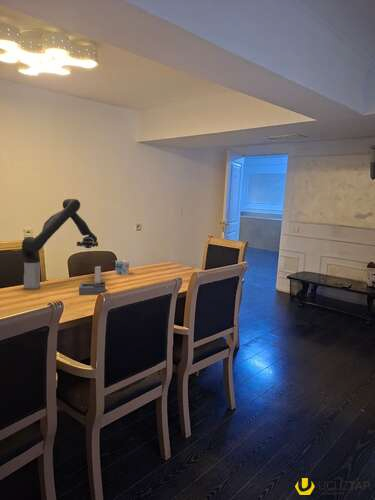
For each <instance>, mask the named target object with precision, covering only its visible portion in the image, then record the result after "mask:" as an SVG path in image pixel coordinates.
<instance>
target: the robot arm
mask: <svg viewBox="0 0 375 500" xmlns="http://www.w3.org/2000/svg"><path fill="white" fill-rule="evenodd" d="M62 208H63V209H62V210H61V211H59V212H56V213H55V214H53V215H51V216H50V217H49V218H48V219H47V220H45V222H44V224H43V225H42V230H41V232H40V233H39V234H38V235H37V236H35V237H32V236H31V237H25V238H24V239H23V240H22V243H21V252H22V259H23V264H24V265H23V267H24V271H23V272H24V273H23V289H26V290H27V289H28V290H36V289H39V288H41V271H40V268H41V267H40V264H41V263H40V261H41V260H40V257H39V256H38V255H37V254H36V253H37V252H39V251H41V249H43V247H44V246H45V244H46V243H47V242H48V241H49V239H51V237H52V236H53V235H54V234H55V233H56V232H57V231H58V230H60V228H61V227H62V226H63V225H64V224H65V223H66V222H67V221H68V220H69V219H71V220H72V221H73V222H74V224H75V225H76V227H77V229H78V231H79V232H80V234H81V235H82V236H85V237H83V238H82V241H76V247H83V248H85V249H90V248H91V249H92V248H94V247H99V242H98V238H97V235H95V234H94V233H93V232H92V231H91V229H90V228H89V226H88V224H87V222H86V221H85V220H84V219H83V218H82V217H81V216H80V215H79V214H78V213H77V212H78V211H80V208H81V202H80V201H79V200H78V199H76V198H67V199H64V200H63V201H62Z"/></svg>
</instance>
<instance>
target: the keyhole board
mask: <svg viewBox="0 0 375 500" xmlns="http://www.w3.org/2000/svg"><path fill="white" fill-rule="evenodd" d="M104 292H105V293H106V281H105V280H102V281H101V284H95V280H94V281H93V282H80V283H79V286H78V295H79V296H80V295H101V294H100V293H104Z"/></svg>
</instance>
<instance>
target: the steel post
mask: <svg viewBox="0 0 375 500" xmlns="http://www.w3.org/2000/svg"><path fill="white" fill-rule="evenodd" d="M101 268H102V266H99V265H96V266H94V281H95V284H101V280H102V279H101V277H102V275H101V274H102V273H101V272H102V269H101Z"/></svg>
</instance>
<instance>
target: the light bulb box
mask: <svg viewBox="0 0 375 500" xmlns="http://www.w3.org/2000/svg"><path fill="white" fill-rule="evenodd" d="M114 272H115V276H116V275H117V276H119V275H122V276H125V275H127V276H128V275H129V274H130V261H129V260H128V259H126V260H125V259H123V260H122V259H121V260H120V259H119V260H118V259H117V260H116V259H115V271H114Z"/></svg>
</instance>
